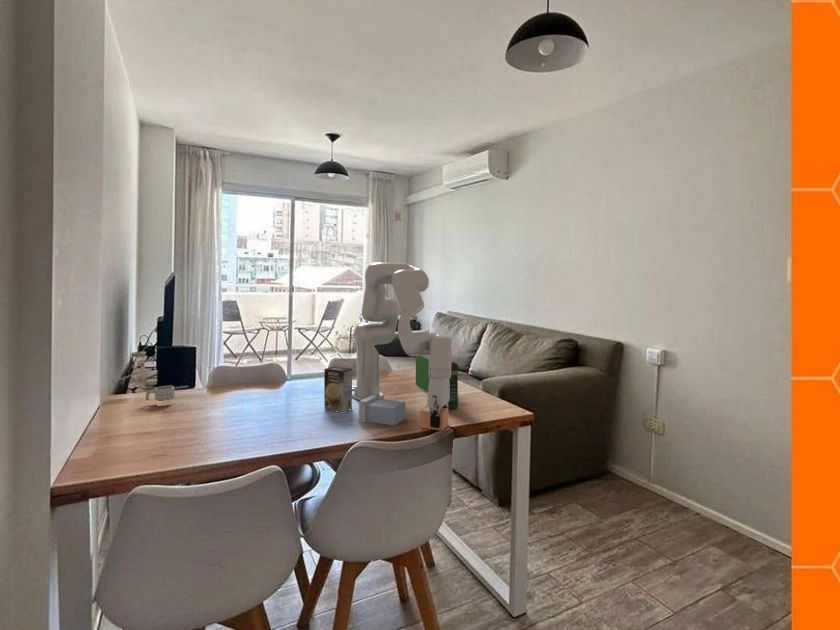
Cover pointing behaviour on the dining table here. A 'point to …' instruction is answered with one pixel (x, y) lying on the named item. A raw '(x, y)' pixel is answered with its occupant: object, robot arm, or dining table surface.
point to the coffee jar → (453, 387)
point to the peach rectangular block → (426, 418)
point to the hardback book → (422, 372)
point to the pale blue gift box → (381, 410)
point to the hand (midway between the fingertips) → (439, 423)
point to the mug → (162, 393)
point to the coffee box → (338, 388)
